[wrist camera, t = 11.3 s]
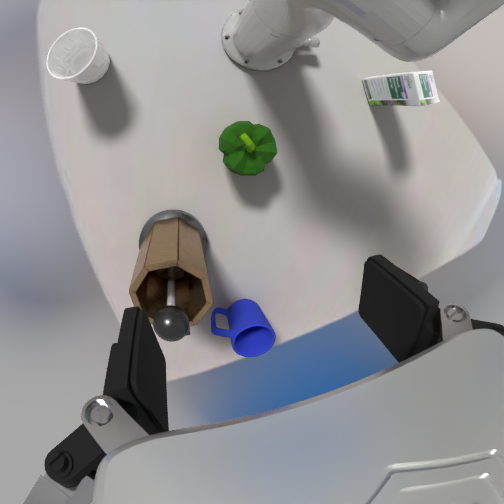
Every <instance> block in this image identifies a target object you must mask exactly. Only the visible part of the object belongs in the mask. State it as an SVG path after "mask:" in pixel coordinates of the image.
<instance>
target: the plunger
mask: <svg viewBox="0 0 504 504" xmlns="http://www.w3.org/2000/svg"><path fill="white" fill-rule="evenodd" d="M153 271H154V272H155V273H156V274H157V275H159V276H160V277H163V278H165V279H168V289H167V306H164V307H162V308H160V309H159V310H158V311H157V312H156V314H155V316H154V319H153V327H154V330H155V332H156V333H157V335H158V336H159V337H160V338H162V339H163V340H166V341H178V340H180V339H182V338H183V337H184V336H185V335H186V333H187V331H188V329H189V319H188V316H187V314H186V313H185V312H184V311H183V310H182V309H181V308H179V307H177V306H175V279H180V278H183V277H185V276H186V275H188V274H189V272H187V271H185V270H184V269H182V268H180V267H178V266H173V267H168V268H162V269H157V270H153Z"/></svg>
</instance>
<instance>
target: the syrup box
mask: <svg viewBox="0 0 504 504" xmlns="http://www.w3.org/2000/svg"><path fill="white" fill-rule="evenodd" d="M362 82H363V84H364V88H365V91H366V95H367V98H368V102H369V105H404V106H423V105H428V104H433V103H438V102H440V101H439V98H438V94H437V88H436V84H435V80H434V76H433V72H432V71H417V72H406V73H396V74H387V75H379V76H373V77H367V78H363V79H362Z"/></svg>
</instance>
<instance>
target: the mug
mask: <svg viewBox="0 0 504 504" xmlns="http://www.w3.org/2000/svg"><path fill="white" fill-rule="evenodd" d="M217 313H221V314H224V315H226V316H227V318H228V323H229V329H230V330H224V329H220V328H217V327H216V321H215V315H216V314H217ZM211 331H212V333H213V334H215V335H219V336H223V337H231V343H232V348H233V350H234V351H235V352H236V353H237V354H239V355H241V356H244V357H255V356H259V355H261V354H263V353H265V352H267V351H268V350H269V349H270V348H271V347H272V346H273V344H274V342H275V338H276V336H275V332H274V330H273V329H272V327H271V325H270V324H269V322H268V320H267V319H266V317H265V315H264V314H263V312H262V310H261V309H260V307H259V306H258V304H257V303H255V302H254V301H252V300H248V299H243V300H239V301H237V302H235V303H234V304H233V305H232V306H231V307H230V309H229V311H228V310H227V309H225V308H221V307H218V308H215V309H214V311H213V313H212V316H211Z"/></svg>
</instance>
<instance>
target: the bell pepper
mask: <svg viewBox="0 0 504 504" xmlns="http://www.w3.org/2000/svg"><path fill="white" fill-rule="evenodd" d="M219 150H220V151H221V152H223V153H224V158H223V162H224V164H225V165H226V166H227V168H228V169H229V170H230V171H232V172H234V173H237V174H239V175H257V174H258V173H260V172H262V171H264V164H265V163H268V162H271V160H272V159H273V158H274V156H275V155H276V154H277V148H276V143H275V139H274V137H273V135H272V133H271V131H270V129H269V128H267V127H264V126H262V125H260V124H255V125H253V124H252V123H251V122H250V121H238V122H235V123H234V124H232V125H230V126H228V127H227V128H225V129H224V131H223V133H222V134H221V136H220V137H219Z"/></svg>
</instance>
